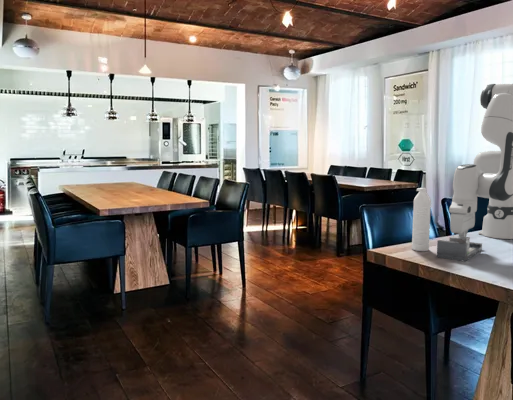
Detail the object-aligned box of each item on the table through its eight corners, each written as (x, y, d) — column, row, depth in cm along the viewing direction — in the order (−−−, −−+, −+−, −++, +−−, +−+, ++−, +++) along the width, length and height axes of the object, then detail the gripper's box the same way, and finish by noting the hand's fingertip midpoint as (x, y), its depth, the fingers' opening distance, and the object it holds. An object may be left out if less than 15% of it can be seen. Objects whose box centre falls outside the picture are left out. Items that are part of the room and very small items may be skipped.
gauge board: (455, 246, 189) (456, 231, 189) (481, 249, 183) (482, 234, 182) (436, 256, 171) (437, 240, 170) (465, 261, 165) (466, 244, 164)
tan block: (452, 247, 179) (453, 235, 179) (469, 250, 176) (469, 237, 175) (448, 250, 175) (449, 237, 175) (465, 252, 172) (466, 239, 171)
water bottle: (414, 247, 187) (416, 186, 184) (430, 249, 184) (433, 187, 181) (408, 251, 180) (410, 188, 177) (425, 253, 177) (427, 189, 174)
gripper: (463, 203, 187) (461, 236, 188) (447, 208, 171) (446, 244, 173) (480, 204, 183) (478, 238, 184) (465, 209, 167) (463, 246, 169)
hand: (462, 241), depth 178 cm, fingers closed
